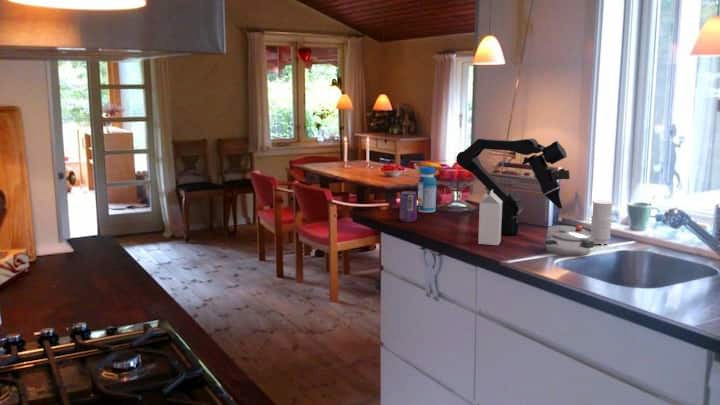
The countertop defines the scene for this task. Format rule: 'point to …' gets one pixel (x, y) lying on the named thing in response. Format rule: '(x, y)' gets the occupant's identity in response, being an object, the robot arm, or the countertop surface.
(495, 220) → the milk carton
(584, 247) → the cooker pot
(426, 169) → the beverage bottle
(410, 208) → the beverage can
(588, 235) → the cooker lid
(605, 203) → the white cylinder
